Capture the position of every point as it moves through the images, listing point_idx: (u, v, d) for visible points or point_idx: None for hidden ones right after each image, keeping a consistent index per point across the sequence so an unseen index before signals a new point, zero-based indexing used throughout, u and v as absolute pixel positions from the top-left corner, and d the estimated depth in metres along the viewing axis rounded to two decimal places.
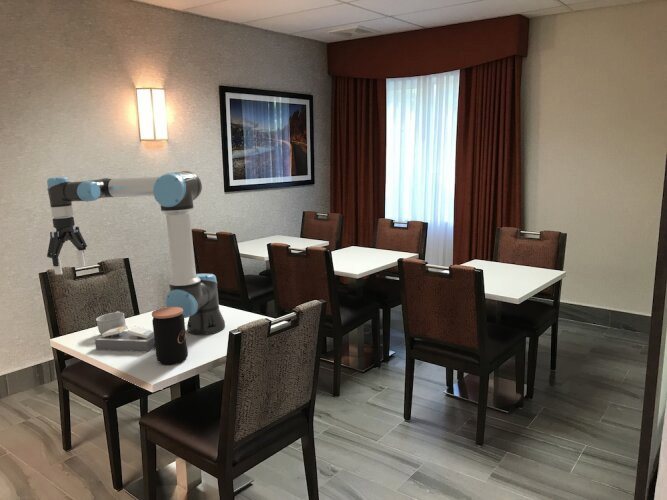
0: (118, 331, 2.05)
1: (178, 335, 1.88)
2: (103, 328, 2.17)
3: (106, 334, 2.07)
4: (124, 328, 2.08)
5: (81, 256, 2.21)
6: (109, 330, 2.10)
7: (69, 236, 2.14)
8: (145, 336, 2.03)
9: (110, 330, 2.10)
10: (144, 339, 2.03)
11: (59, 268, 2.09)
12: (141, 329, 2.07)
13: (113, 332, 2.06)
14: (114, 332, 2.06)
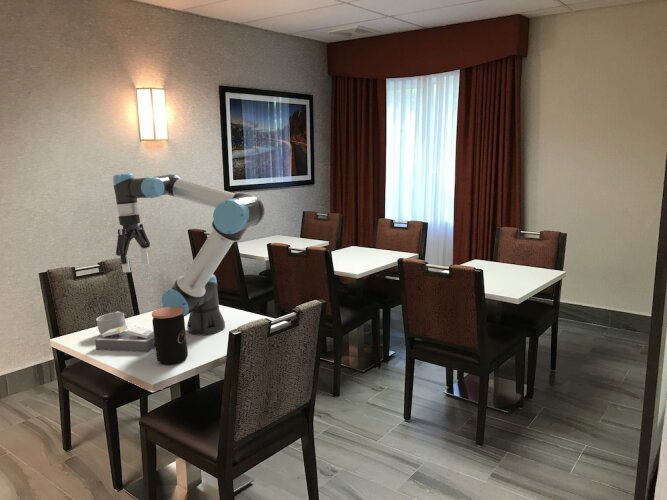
0: (118, 331, 2.05)
1: (178, 335, 1.88)
2: (103, 328, 2.17)
3: (106, 334, 2.07)
4: (124, 328, 2.08)
5: (145, 254, 2.18)
6: (109, 330, 2.10)
7: (135, 233, 2.11)
8: (145, 336, 2.03)
9: (110, 330, 2.10)
10: (144, 339, 2.03)
11: (127, 266, 2.06)
12: (141, 329, 2.07)
13: (113, 332, 2.06)
14: (114, 332, 2.06)
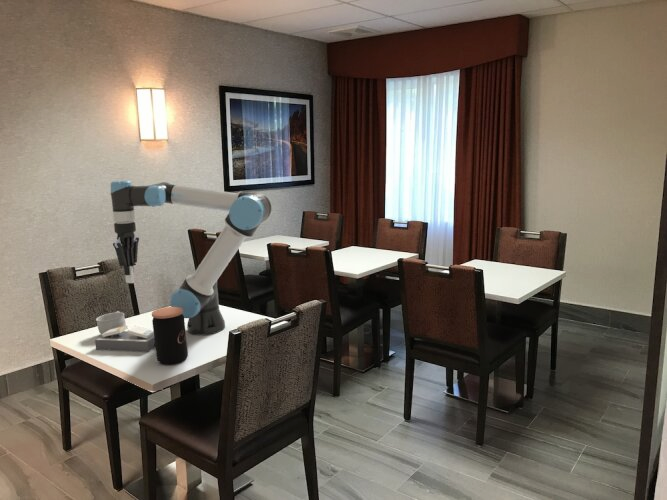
0: (118, 331, 2.05)
1: (178, 335, 1.88)
2: (103, 328, 2.17)
3: (106, 334, 2.07)
4: (124, 328, 2.08)
5: None
6: (109, 330, 2.10)
7: (130, 242, 2.07)
8: (145, 336, 2.03)
9: (110, 330, 2.10)
10: (144, 339, 2.03)
11: (130, 277, 2.08)
12: (141, 329, 2.07)
13: (113, 332, 2.06)
14: (114, 332, 2.06)
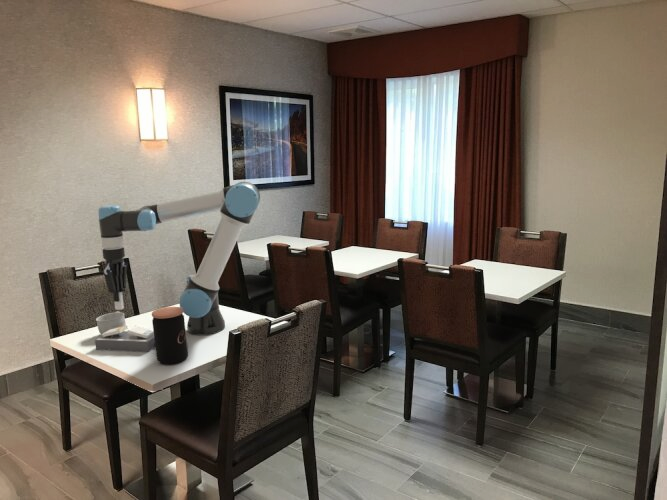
0: (118, 331, 2.05)
1: (178, 335, 1.88)
2: (103, 328, 2.17)
3: (106, 334, 2.07)
4: (124, 328, 2.08)
5: None
6: (109, 330, 2.10)
7: (119, 268, 2.03)
8: (145, 336, 2.03)
9: (110, 330, 2.10)
10: (144, 339, 2.03)
11: (120, 303, 2.05)
12: (141, 329, 2.07)
13: (113, 332, 2.06)
14: (114, 332, 2.06)
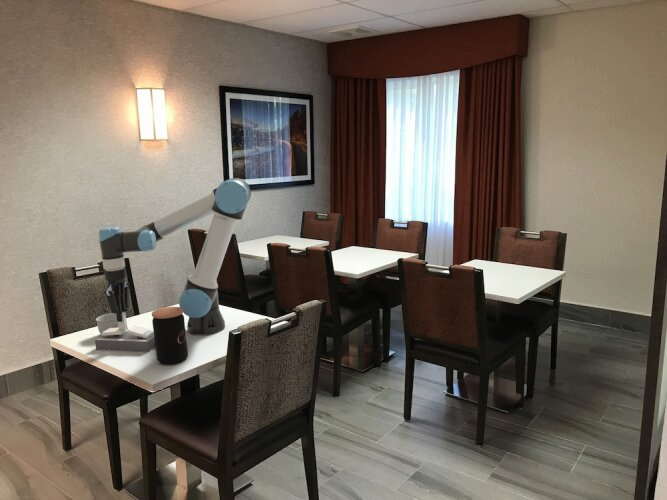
0: (118, 332, 2.05)
1: (178, 335, 1.88)
2: (103, 328, 2.17)
3: (106, 333, 2.07)
4: None
5: None
6: (109, 329, 2.10)
7: (121, 288, 2.05)
8: (145, 336, 2.03)
9: (110, 329, 2.10)
10: (144, 339, 2.03)
11: (123, 323, 2.06)
12: (141, 329, 2.07)
13: (113, 332, 2.06)
14: (114, 333, 2.06)
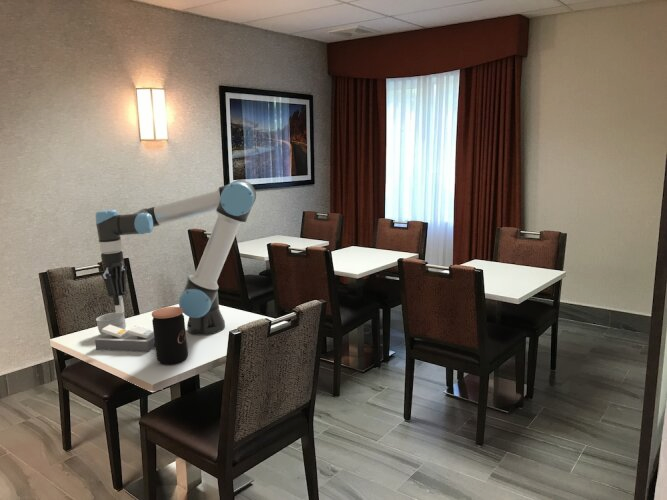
0: (119, 336, 2.06)
1: (178, 335, 1.88)
2: None
3: (106, 331, 2.07)
4: (125, 333, 2.09)
5: None
6: (109, 326, 2.10)
7: (118, 271, 2.04)
8: (145, 336, 2.03)
9: (110, 327, 2.09)
10: (144, 339, 2.03)
11: (120, 307, 2.05)
12: (141, 329, 2.07)
13: (113, 334, 2.06)
14: (114, 334, 2.06)
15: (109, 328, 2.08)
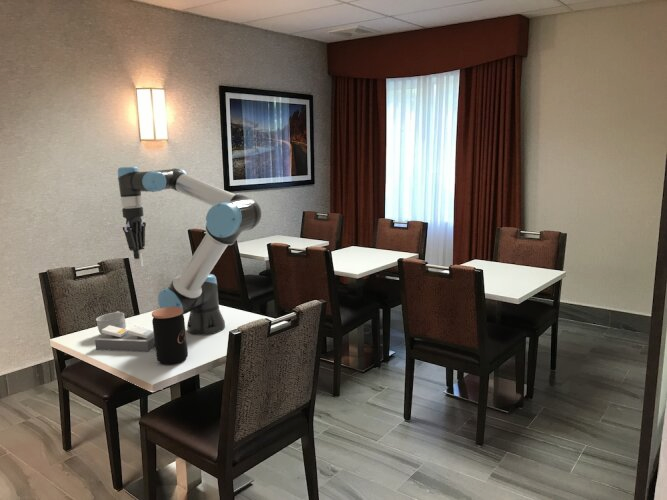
0: (119, 335, 2.06)
1: (178, 335, 1.88)
2: (103, 328, 2.17)
3: (106, 332, 2.07)
4: (125, 332, 2.08)
5: None
6: (109, 327, 2.10)
7: (138, 226, 2.13)
8: (145, 336, 2.03)
9: (110, 328, 2.09)
10: (144, 339, 2.03)
11: (139, 260, 2.14)
12: (141, 329, 2.07)
13: (113, 333, 2.06)
14: (114, 334, 2.06)
15: (109, 328, 2.08)
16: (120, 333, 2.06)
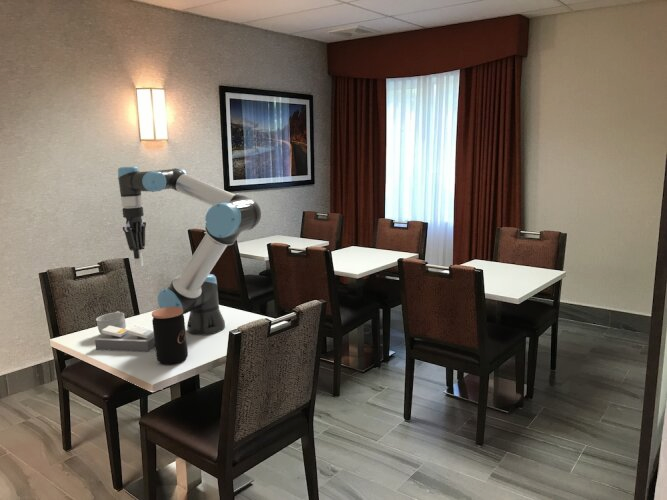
0: (119, 335, 2.06)
1: (178, 335, 1.88)
2: (103, 328, 2.17)
3: (106, 332, 2.07)
4: (125, 332, 2.08)
5: None
6: (109, 327, 2.10)
7: (138, 226, 2.13)
8: (145, 336, 2.03)
9: (110, 328, 2.09)
10: (144, 339, 2.03)
11: (140, 260, 2.14)
12: (141, 329, 2.07)
13: (113, 333, 2.06)
14: (114, 334, 2.06)
15: (109, 329, 2.08)
16: (120, 333, 2.06)
